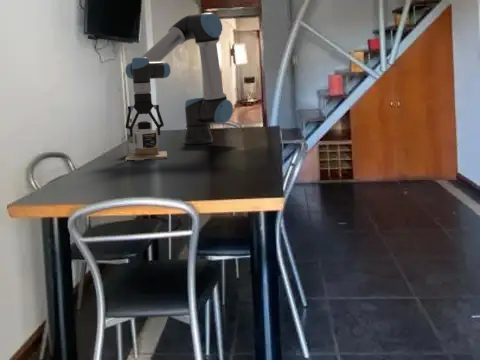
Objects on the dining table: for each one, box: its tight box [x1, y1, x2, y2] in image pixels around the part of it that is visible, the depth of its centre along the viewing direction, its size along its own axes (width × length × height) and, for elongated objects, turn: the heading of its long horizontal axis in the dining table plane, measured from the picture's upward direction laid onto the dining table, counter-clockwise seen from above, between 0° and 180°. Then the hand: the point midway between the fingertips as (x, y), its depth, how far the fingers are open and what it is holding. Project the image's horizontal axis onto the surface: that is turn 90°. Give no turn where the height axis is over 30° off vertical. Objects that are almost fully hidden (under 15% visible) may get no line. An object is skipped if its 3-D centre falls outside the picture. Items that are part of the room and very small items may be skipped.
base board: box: [125, 146, 168, 162], centre depth 276 cm, size 18×18×4 cm
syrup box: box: [126, 122, 139, 153], centre depth 289 cm, size 6×6×14 cm
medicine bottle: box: [135, 120, 158, 150], centre depth 275 cm, size 7×7×12 cm
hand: (145, 143), depth 276 cm, fingers closed on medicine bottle, 9 cm apart
